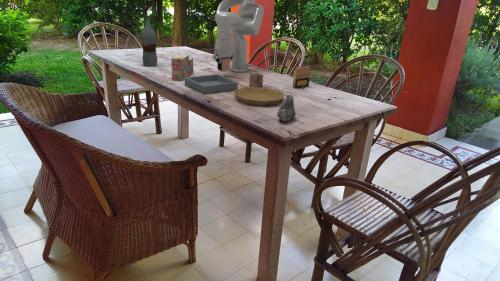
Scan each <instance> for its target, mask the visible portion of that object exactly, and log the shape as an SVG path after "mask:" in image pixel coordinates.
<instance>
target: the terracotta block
mask: <svg viewBox="0 0 500 281" xmlns="http://www.w3.org/2000/svg"><path fill="white" fill-rule="evenodd" d="M221 63H222V70H219V69H218V68H217V71H220V72H222V73H224V72H231V71H230V67H231V62H230V59H229V58H226V57H225V58H222V60H221Z"/></svg>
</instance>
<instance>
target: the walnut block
mask: <svg viewBox="0 0 500 281" xmlns="http://www.w3.org/2000/svg"><path fill="white" fill-rule="evenodd" d="M263 82H264V74H261V73H258V72H256V73H255V72H253V73H249V84H248V85H249V86H248V88H249V87H257V88H263Z"/></svg>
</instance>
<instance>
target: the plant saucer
mask: <svg viewBox="0 0 500 281" xmlns="http://www.w3.org/2000/svg"><path fill="white" fill-rule="evenodd" d="M233 94H234V96H235V97H236V98H237V99H238V100H239V101H240V102H242V103H245V104H248V105H253V106H272V105H276V104H278V103H280V102H282V101H284V100H283V99H285V97H286V94H284V93H283V92H282V91H279V90H276V89H273V88H267V87H266V88H265V87H262V88H257V87H249V86H248V87H242V88H238V89H237V90H234V92H233Z"/></svg>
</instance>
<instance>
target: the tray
mask: <svg viewBox="0 0 500 281" xmlns="http://www.w3.org/2000/svg"><path fill="white" fill-rule="evenodd" d="M184 86H186V87H188V88H190V89H192V90H194V91H196V92H198V93H200V94H203V95H210V94H211V95H212V94H217V93H224V92H230V91H231V92H233V91H236V90H237V89H239V82H238V81H236V80H234V79H231V78H229V77H226V76H223V75H220V74H219V73H218V74H217V73H215V74H205V75H198V76H197V75H196V76H189V77H186V78H185V80H184Z"/></svg>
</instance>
